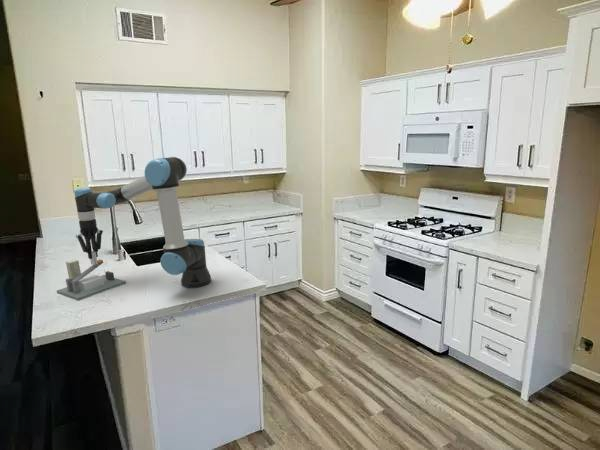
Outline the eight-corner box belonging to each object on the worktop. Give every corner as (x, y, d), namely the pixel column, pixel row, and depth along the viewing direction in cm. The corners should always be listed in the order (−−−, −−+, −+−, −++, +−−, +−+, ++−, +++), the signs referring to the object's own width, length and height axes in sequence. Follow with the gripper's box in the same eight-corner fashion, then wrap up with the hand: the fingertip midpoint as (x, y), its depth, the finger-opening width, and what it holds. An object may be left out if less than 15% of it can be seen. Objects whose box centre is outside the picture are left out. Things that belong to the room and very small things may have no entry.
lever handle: (103, 262, 202) (102, 259, 202) (76, 282, 192) (74, 280, 191) (100, 261, 204) (99, 259, 203) (73, 281, 193) (71, 279, 192)
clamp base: (126, 283, 205) (124, 269, 203) (78, 300, 185) (75, 285, 183) (104, 277, 216) (102, 263, 214) (56, 292, 195) (54, 278, 194)
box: (79, 277, 216) (75, 258, 213) (82, 279, 213) (79, 260, 211) (68, 280, 212) (65, 261, 209) (72, 282, 209) (68, 262, 207)
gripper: (96, 216, 202) (102, 259, 208) (69, 221, 191) (77, 266, 197) (104, 217, 198) (110, 261, 204) (77, 222, 187) (85, 269, 193)
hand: (94, 264), depth 200 cm, fingers closed
